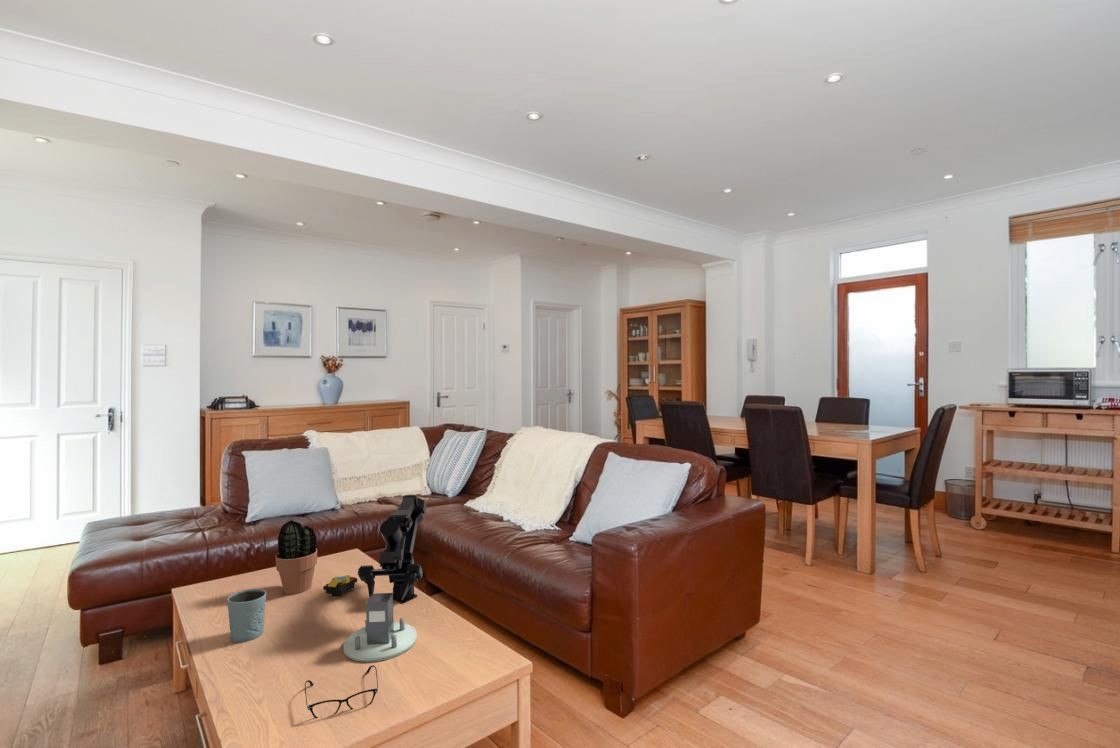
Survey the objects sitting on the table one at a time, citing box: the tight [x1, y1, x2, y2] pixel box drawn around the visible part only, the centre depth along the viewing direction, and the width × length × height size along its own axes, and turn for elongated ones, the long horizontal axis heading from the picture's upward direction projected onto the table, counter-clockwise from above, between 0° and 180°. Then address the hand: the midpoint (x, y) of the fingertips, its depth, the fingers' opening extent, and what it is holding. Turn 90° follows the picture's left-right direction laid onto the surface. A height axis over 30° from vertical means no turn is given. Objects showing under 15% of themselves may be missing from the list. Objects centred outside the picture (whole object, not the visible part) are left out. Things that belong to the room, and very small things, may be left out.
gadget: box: [323, 574, 358, 598], centre depth 194 cm, size 6×13×6 cm, turn 169°
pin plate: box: [343, 617, 418, 663], centre depth 159 cm, size 20×20×4 cm
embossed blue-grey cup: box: [226, 588, 267, 643], centre depth 164 cm, size 10×10×12 cm
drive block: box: [365, 592, 395, 645], centre depth 158 cm, size 6×6×12 cm
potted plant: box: [275, 519, 318, 595], centre depth 197 cm, size 14×14×25 cm
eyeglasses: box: [304, 664, 379, 719], centre depth 134 cm, size 16×16×4 cm
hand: (386, 600), depth 165 cm, fingers open, 9 cm apart
